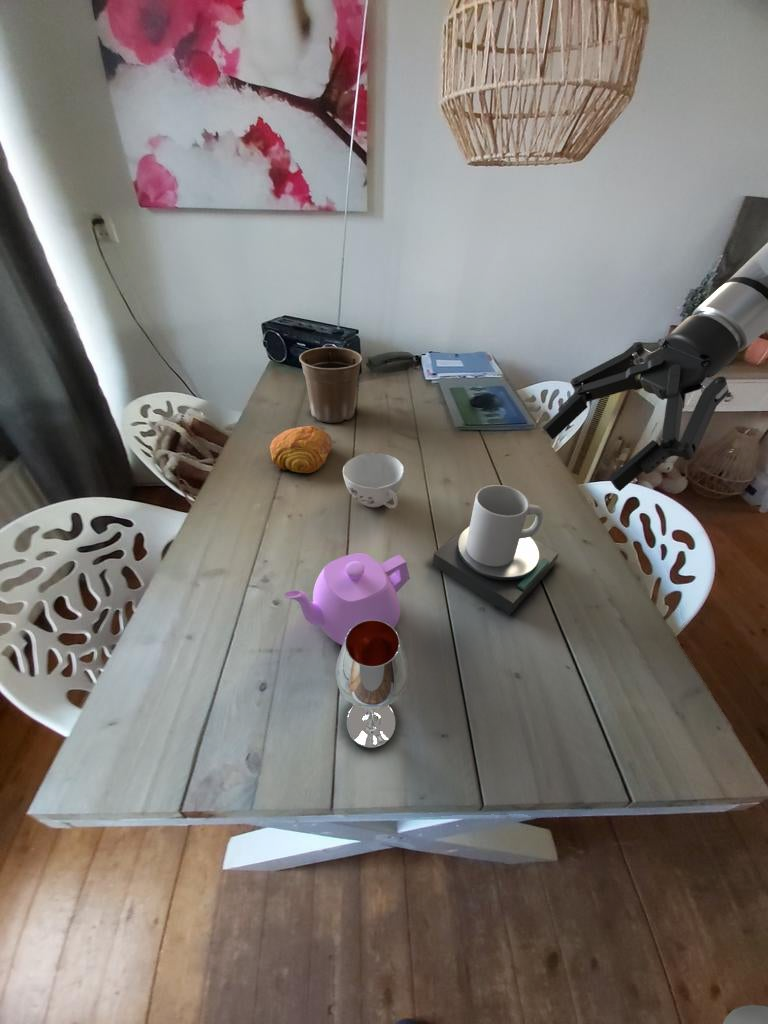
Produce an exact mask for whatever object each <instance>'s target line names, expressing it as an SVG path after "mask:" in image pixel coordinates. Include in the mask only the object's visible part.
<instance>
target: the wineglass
mask: <svg viewBox="0 0 768 1024" xmlns="http://www.w3.org/2000/svg"><path fill="white" fill-rule="evenodd" d="M334 672H335V682H336V684H337V687H338V690H339V691H340V693H341V695H342V696H343V697H344V698H345V700H346V701H347V702H349V703H350V704H352V707H351V709H350V710H349V711H348V714H347V717H346V729H347V732H348V734H349V737H350V738H351V740H353V741H354V742H355V743H356V744H357V745H359V746H360V747H363V748H369V749H373V748H375V749H376V748H378V747H381V746H383V745H385V744H386V743H388V742H389V741H390V739H391V738H392V737H393V735H394V732H395V729H396V725H397V724H396V723H397V722H396V716H395V713H394V711H393V709H392V708H391V707H390V705H392V704H393V703H395V702H396V701H397V700H398V699H399V698H400V697H401V695H402V694H403V692H404V690H405V688H406V686H407V683H408V679H409V664H408V659H407V656H406V653H405V650H404V647H403V645H402V641H401V639H400V637H399V635H398V633H397V630H395V628H392V627H391V626H390V625H389V624H387V623H385V622H382V621H378V620H366V621H363V622H360V623H358V624H356V625H355V626H354V627H352V628H351V629H350V631H349V632H348V634H347V636H346V638H345V641H344V643H343V645H341V648H340V651H339V653H338V656H337V659H336V663H335V671H334Z"/></svg>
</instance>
